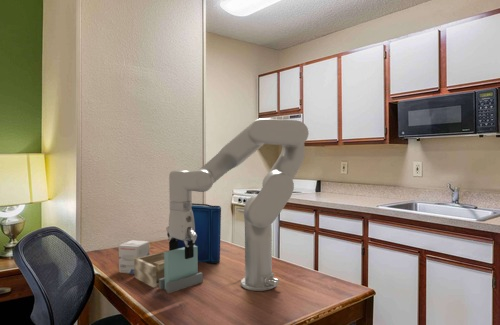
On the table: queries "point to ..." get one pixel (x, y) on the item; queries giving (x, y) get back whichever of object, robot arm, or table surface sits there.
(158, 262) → the offcut top
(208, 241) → the book
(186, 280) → the stand
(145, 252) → the ink box
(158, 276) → the offcut low
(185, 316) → the table surface
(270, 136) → the robot arm
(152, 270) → the bin
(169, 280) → the sheet
